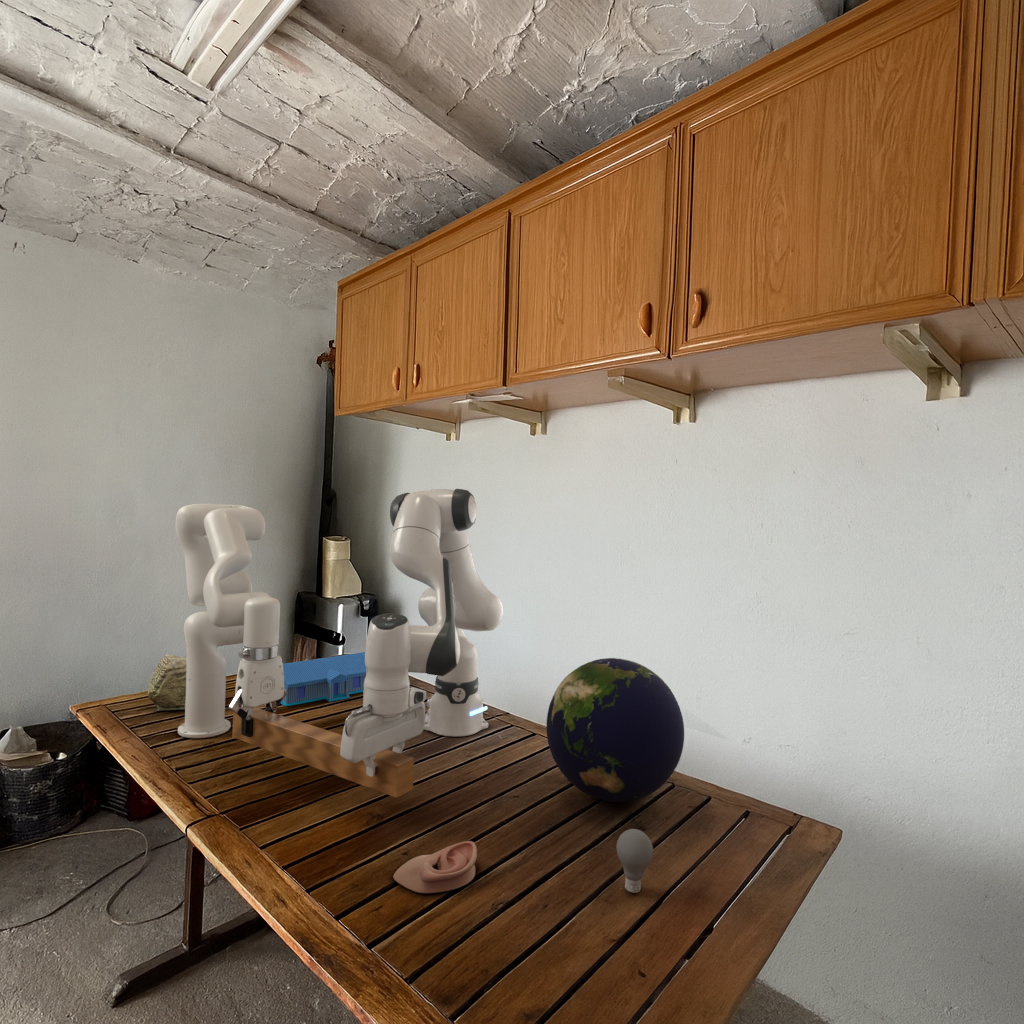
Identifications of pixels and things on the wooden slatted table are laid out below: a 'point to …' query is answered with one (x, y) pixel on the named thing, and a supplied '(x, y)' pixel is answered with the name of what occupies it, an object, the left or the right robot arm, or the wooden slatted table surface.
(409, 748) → the wooden slatted table surface
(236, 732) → the bar
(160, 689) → the fossil
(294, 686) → the model building
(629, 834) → the light bulb
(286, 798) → the wooden slatted table surface
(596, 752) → the globe
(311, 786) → the wooden slatted table surface
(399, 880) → the anatomical model
